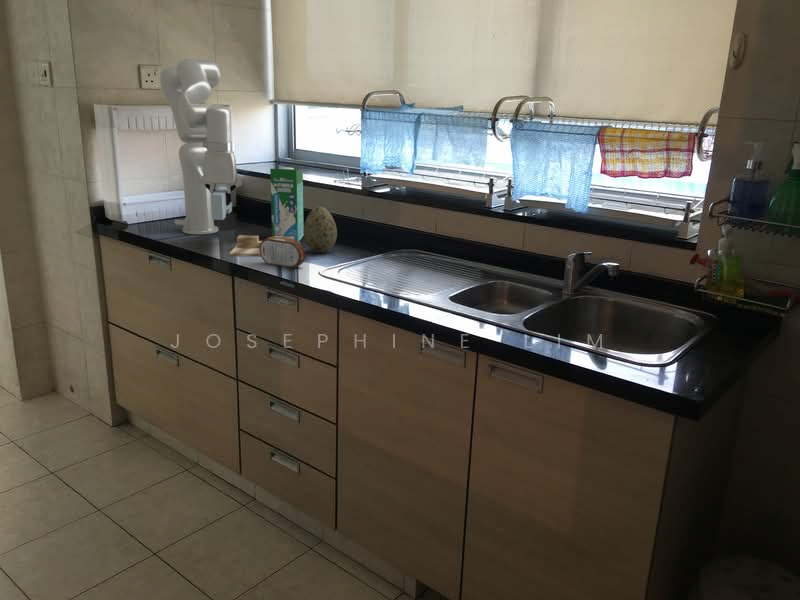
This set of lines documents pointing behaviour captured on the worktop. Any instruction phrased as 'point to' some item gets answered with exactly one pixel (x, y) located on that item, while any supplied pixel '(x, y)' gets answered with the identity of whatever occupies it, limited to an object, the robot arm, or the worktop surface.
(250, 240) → the straw hat
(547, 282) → the worktop surface
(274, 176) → the milk carton
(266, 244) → the tin
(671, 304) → the worktop surface
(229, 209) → the pale blue notched block
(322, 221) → the decorative egg
